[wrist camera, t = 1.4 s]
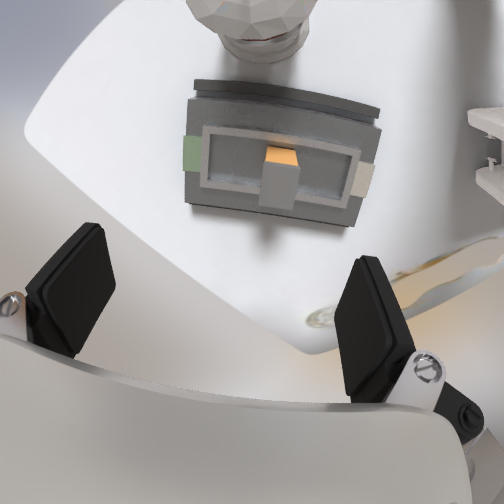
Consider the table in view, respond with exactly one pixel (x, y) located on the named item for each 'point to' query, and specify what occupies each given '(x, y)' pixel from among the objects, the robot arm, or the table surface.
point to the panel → (281, 136)
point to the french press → (256, 26)
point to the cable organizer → (495, 176)
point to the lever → (279, 179)
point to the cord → (287, 95)
